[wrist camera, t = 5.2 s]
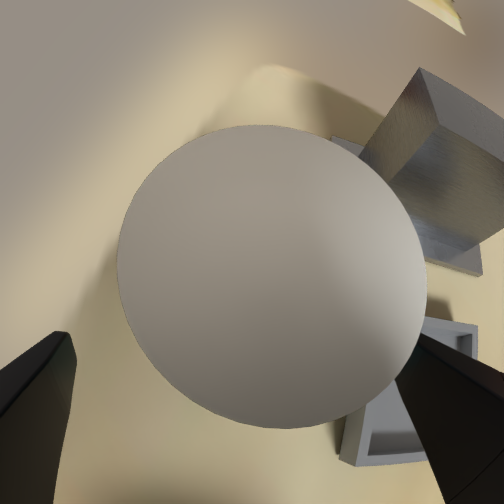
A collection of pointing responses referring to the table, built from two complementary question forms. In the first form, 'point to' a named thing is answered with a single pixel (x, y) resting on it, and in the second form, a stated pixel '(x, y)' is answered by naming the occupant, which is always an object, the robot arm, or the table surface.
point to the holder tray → (398, 410)
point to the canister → (271, 276)
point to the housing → (442, 168)
